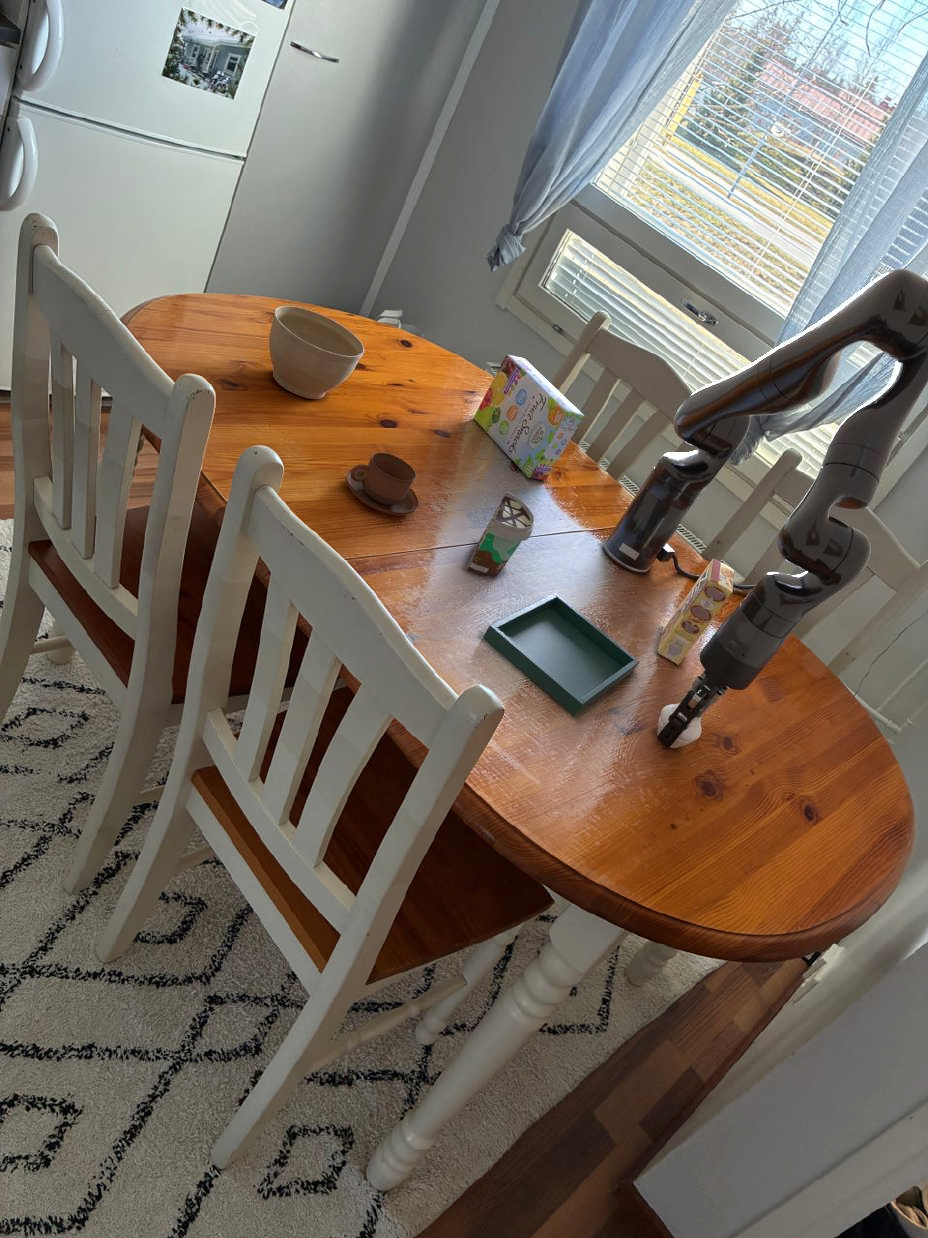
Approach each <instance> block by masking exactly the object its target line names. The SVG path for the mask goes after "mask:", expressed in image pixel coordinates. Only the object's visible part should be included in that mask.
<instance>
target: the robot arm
mask: <svg viewBox="0 0 928 1238" xmlns="http://www.w3.org/2000/svg"><path fill="white" fill-rule="evenodd" d="M858 342H859V343H860V342H864V343H865V342H866V343H868V344H870V345H872V346H873V347H875V348H876V349H878V350H879V351H881V352H883V353H884V354H885V355H888V356H889V357H890V358H891V359H893V360H895V365H894V369H893V372H892V375H891V377H890V379H889V381H888V383H887V385H885V387H884V388H883V389H882V390H881V391H880V392H878V394H876V395H875V396H874V397H872V398H871V399H870V400H868V401H867V402H866V403H864V404H863V405H861V406H860V407H858V408H857V409H856V410H855V411H853V412H852V413H851V414H849V416H847V417H846V418H845V419H844V420H843V421H842V422H841V424H840V425H839V426H838V427H837V429H836V431H835V432H834V434H833V435H832V438H831V440H830V442H829V444H828V447H827V450H826V452H825V455H824V458H823V460H822V463H821V466H820V468H819V471H818V473H817V475H816V478H815V480H814V481H813V483H812V484H811V486H810V488H809V489H808V490H807V492H806V494H805V495H804V496H803V498H802V499H801V501H800V502H799V504H798V505H797V506H796V507H795V508H794V510H793V511H792V512H791V514H790V515H789V516H788V518H787V519H786V520H785V521H784V523H783V524H782V526H781V527H780V530H779V531H778V536H777V548H778V552H779V555H780V557H781V558H782V559H783V560H785V561H786V562H788V563H789V564H792V565H793V566H795V567H797V568H800V569H801V570H803V571H805V572H802V573H800V574H790V573H784V572H779V571H769V572H766V573H765V574H764V575H763V576H761V577H760V578H759V579H758V581H757V582H756V583H755V584H751V585H750V584H749V585H742V584H737V583H733V589H737V590H741V591H742V590H744V591H745V590H747V591H749V590H750V591H749V592H748V594H747V595H746V596H745V597H744V599H743V600H742V601H741V603H740V604H739V605H738V606H737V607H736V608H735V609H734V610H733V611H732V612H731V613H730V614H729V615H728V616H727V617H726V618H725V620H724V621H723V622H722V624H721V625H720V626H719V628H718V629H717V630H716V631H715V633H714V634H713V635H712V637H711V638H710V639H709V641H708V642H707V643H706V644H705V645H704V647H703V648H702V650H701V651H700V652H699V662H700V664H701V667H702V668H703V669H704V670H703V671H702V673H700V674H699V675H698V676H697V677H696V678H695V679H693V681H692V682H691V686H690V688H689V689H688V690H687V692H686V693H685V694H684V695H683V696H682V697H681V699H680V700H679V703H680V704H679V703H678V704H679V706H678V707H677V708H676V710H675V711H674V712H673V713H672V714H671V715H670V716H669V719H668V720H669V722H668V723H667V725H666V726H665V727H664V728H663V730H662V731H661V732H660V733H659V735H657V736H656V737H657V740H658V741H659V742H660V743H662V745H664V746H665V747H667V748H670V746H671V745H672V744H673V743H674V742H675V741H676V740H677V738H678V737H679V736H680V735H681V733H682V732H683V731H684V730H686V729H688V728H689V725H690V724H691V722H692V721H693V720H694V719H695V718H700V717H702V718H703V715H704V714H705V713H706V712H707V711H708V710H709V709H710V707H713V706H714V705H715V704H716V703H717V702H718V701H719V700H720V699H721V698H722V697H723V696H724V695H725V694H726V693H727V692H728V690H729V689H731V690H735V691H744V690H746V689H748V688H749V686H750V685H751V684H752V683H753V682H754V681H755V679H756V678H757V677H758V676H759V675H760V673H761V672H762V671H763V670H764V669H765V668H766V666H767V665H768V664H769V662H771V660H772V659H773V658H774V657H775V656H776V655H777V653H778V651H779V650H780V648H781V647H782V645H783V644H784V642H785V641H786V639H787V638H788V637H789V636H790V634H791V633H792V632H794V630H795V629H796V627H797V626H798V625H799V624H800V622H801V621H802V620H803V619H804V617H805V616H806V615H808V613H810V612H811V611H812V610H814V609H815V608H817V607H818V606H820V605H822V604H823V603H824V602H826V601H827V600H828V599H829V598H831V597H832V596H834V595H835V594H837V593H838V592H840V591H841V590H843V589H844V588H846V587H848V585H850V584H851V583H852V582H854V581H855V580H856V579H857V578H858V577H859V576H860V575H861V574H862V573H863V571H864V570H865V568H866V566H867V564H868V563H869V561H870V557H871V553H872V545H871V541H870V538H869V537H868V536H867V535H866V534H865V533H864V532H862V531H861V530H859V529H858V528H855V527H854V526H852V525H849V524H848V523H845V522H843V521H842V520H840V519H838V518H836V517H835V516H832V515H830V511H831V508H832V507H834V508H838V509H841V510H849V511H859V510H863V509H865V508H867V507H869V506H870V505H871V503H872V502H873V501H874V499H875V497H876V494H877V493H878V489H879V487H880V484H881V481H882V478H883V476H884V473H885V470H886V467H887V465H888V462H889V459H890V457H891V455H892V451H893V449H894V446H895V444H896V442H897V439H898V437H899V435H900V433H901V431H902V429H903V427H904V425H905V423H906V421H907V420H908V418H909V416H910V414H911V413H912V411H913V409H914V407H915V406H916V404H917V402H918V401H919V399H920V398H921V396H922V394H923V393H924V390H925V389H926V387H927V385H928V280H926V279H925V278H923V277H922V276H921V275H919V274H918V273H915V272H914V271H911V270H909V269H906V268H895V269H893V270H890V271H888V272H885V273H884V274H882V275H881V276H878V277H877V278H875V279H874V280H873V281H871V282H870V283H868V284H867V285H866V286H865V287H863V288H862V289H861V290H859V291H858V292H857V293H855V294H854V295H853V296H852V297H850V298H849V299H848V300H846V301H845V302H844V303H842V304H841V305H840V306H839V307H837V308H836V309H834V310H833V311H832V312H830V313H829V314H828V315H826V316H825V317H823V318H822V319H821V320H819V321H818V322H817V323H815V324H813V325H811V326H810V327H808V328H807V329H806V330H804V331H803V332H801V333H799V334H797V335H796V336H794V337H792V338H790V339H789V340H786V341H785V342H783V343H781V344H780V345H779V346H777V347H775V348H774V349H772V350H770V351H769V352H767V353H766V354H764V355H763V356H761V357H759V358H757V360H755V361H754V362H752V363H750V364H749V365H747V366H745V367H743V368H741V369H740V370H738V371H736V372H734V373H732V374H730V375H729V376H726V377H724V378H722V379H720V380H717V381H715V382H712V383H710V384H707V385H705V386H703V387H701V388H700V389H698V390H696V391H695V392H693V393H692V394H690V395H689V396H688V397H687V398H686V399H685V400H684V401H683V403H682V404H681V405H680V406H679V408H678V409H677V411H676V413H675V416H674V419H673V430H674V433H675V434H676V436H677V438H679V439H680V440H681V441H683V443H686V444H687V445H690V446H692V447H694V448H696V450H693V451H688V452H666V453H664V454H662V455H661V456H660V457H659V459H658V460H657V462H656V463H655V465H654V466H653V468H652V469H651V471H650V472H649V474H648V475H647V478H645V480H644V482H643V483H642V485H641V486H640V488H639V490H638V491H637V492H636V494H635V496H634V497H633V498H632V499H631V502H630V504H629V505H628V506H627V508H626V509H625V511H624V513H623V514H622V516H621V517H620V518H619V520H618V522H617V523H616V525H615V526H614V527H613V529H612V531H611V532H610V534H609V535H608V537H607V538H606V539H605V541H604V542H603V545H602V546H603V547H602V548H603V549H604V552H605V553H606V555H607V556H608V557H609V558H610V559H611V560H612V561H613V562H615V563H616V564H617V565H619V566H620V567H622V568H624V569H625V570H627V571H630V572H631V573H636V574H645V573H648V571H649V570H650V568H651V567H652V565H653V564H654V562H656V560H658V562H660V563H666V562H669V561H670V560H671V559H672V560H673V567H674V570H676V571H677V572H678V574H680V575H682V576H685V577H687V578H691V579H694V580H698V579H699V578H700V576H701V575H698V574H692V573H689V572H686V571H684V570H683V569H682V568H681V567H680V566H679V560H678V557H677V555H676V554H675V553H676V550H674V549H673V548H672V547H671V546H670V545H669V544H668V543H669V541H670V540H671V539H672V537H673V536H674V534H675V533H676V531H677V529H678V527H679V526H680V524H681V523H682V522H683V520H684V519H685V517H686V516H687V514H688V513H689V511H690V510H691V508H692V507H693V505H694V504H695V503H696V501H697V500H698V498H699V497H700V495H702V492H704V490H705V489H706V488H707V487H708V486H709V485H710V484H712V483H713V481H714V480H715V479H716V478H717V476H718V474H719V473H720V472H721V470H723V468H724V466H725V465H726V464H727V463H728V462H729V460H730V459H731V458H732V457H733V455H734V454H735V453H736V451H737V450H738V448H739V447H740V446H741V444H742V443H743V441H744V440H745V438H746V436H747V433H748V432H749V430H750V426H751V422H752V421H751V420H752V418H751V417H752V416H774V415H782V414H785V413H788V412H792V411H795V410H797V409H799V408H801V407H803V406H805V405H806V404H809V403H810V402H812V401H814V400H816V399H818V398H820V397H821V396H822V395H823V394H825V393H826V392H827V391H828V389H829V388H830V387H831V385H832V383H833V381H834V379H835V376H836V375H837V371H838V368H839V364H840V360H841V356H842V353H843V351H844V350H845V349H847V348H848V347H850V346H851V345H853V344H855V343H858ZM700 710H701V711H700ZM679 713H682V714H683V715H684V716H685V717H686V718H687V720H685V719H684V718H683V717H682V716H680V715H679Z"/></svg>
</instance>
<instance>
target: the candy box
mask: <svg viewBox="0 0 928 1238" xmlns="http://www.w3.org/2000/svg"><path fill="white" fill-rule="evenodd" d="M699 576H700V578H699V579H696V580H697V581H696V582H695V583H694V585H693V586H692V587H691V588H690V590H689V591H688V593H687V594H686V596H685V597H684V598H683V600H682V602H681V603H680V604H679V606H678V607H677V609H676V610H675V611H674V613H673V615H672V616H671V617H670V619H669V620H668V621H667V623H666V625H665V626H664V627H663V629H662V631H661V636H660V640H659V644H658V649H657V654H658V655H660V656H662V657H663V658H665V659H666V660H669V661H671V662H672V663H674V664H676V665H677V666H678V665H680V664H681V663H682V661H683V660H684V659H685V657H686V656H687V654H689V652H690V650H692V648H693V646H694V645H695V644H696V642H697V641H698V640H699V638H700V637H701V636H702V635H703V633H704V631H706V629H707V628H708V627H709V625H710V624H711V622H712V621H713V620H714V618H715V617H716V616H717V614H718V613H719V611H720V610H721V609H722V608H723V606H724V605H725V603H726V602H727V601H728V600H729V598H730V597H731V596H732V594H733V592H734V588H733V584H735V570H734V569H733V568H731V567H730V566H728V565H727V564H725V563H723V562H721V561H720V560H718V559H716V558H712V559H711V561H710V562H709V564H708V565H707V566H706V568H705V569H704V571H703V572H702V574H701V575H699Z"/></svg>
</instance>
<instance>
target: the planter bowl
mask: <svg viewBox="0 0 928 1238" xmlns="http://www.w3.org/2000/svg"><path fill="white" fill-rule="evenodd" d="M272 316H273V318H272V323H271V327H270V331H269V337H268V338H269V340H268V343H269V344H268V345H269V346H268V347H269V355H270V361H271V364H272V367H273V370H272V377H273V379H274V380H275V382H276V383H277V384H278V385H279V386H281V387H282V388H283V389H285V390H287V391H288V392H289V393H292V394H294V395H296V396H299V397H301V398H305V399H308V400H309V399H311V400H320V399H323V398H324V397H325V395H326V393H327V392H329V391H332V390H334V389H335V388H337V387H339V386H340V385H341V384H342V383H343V382H344V381H346V380H347V379H348V378H349V377H350V376H351V374H352V373H353V371H354V370H355V368H356V367H357V365H358V364H359V363H358V362H359V360H361V358H362V357H363V356H364V353H365V347H364V344H363V343H362V341H361V340H360V339H359V338H358V336H356V334H354V333H353V332H352V331H350V330H349V328H347V327H345V326H344V325H343V324H341V323H340V322H337V321H335V320H334V319H332V318H330V317H328V316H326V315H323V314H321V313H319V312H316V311H313V310H311V309H308V308H305V307H301V306H295V305H280V306H278V307H276V309H275V310H274V312H273V315H272Z"/></svg>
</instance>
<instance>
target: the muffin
mask: <svg viewBox="0 0 928 1238" xmlns="http://www.w3.org/2000/svg"><path fill="white" fill-rule="evenodd" d="M679 704H680V702H679V703H670V704H667V705H665V706H664V707H663V708H662V709H661V710H660V715H659V717H658V724H657V732H656V733H657V736H658V735H659V733H660V732H661V731H662V730H663V728H664V727H665V726H666V725H667V723H668V722H669V720H668V719H669V716H670V715H671V714H672V713H673V712H674V711H675V710H676V708H677V707H678V706H679ZM700 711H701V710H700ZM679 715H680V716H682V717H683V718H684V719H685V720H687V718H686V717H685V716H684V715H683V714H682V713H679ZM702 718H703V716H702V717H700V718H695V719H694V720H693V721H692V722H691V724H690V725H689V728H688V729H686V730H684V731H683V732H682V733H681V735H680V736H679V737H678V738H677V740H676V741H675V742H674V743H673V744H672V745H671V746H670V747H669V748H671V749H676V748H679V747H683V746H686V745H688V744H691V743H693V742H694V741H697V740H698V739H699V738H700V737H701V735H702V729H703V728H702V724H701V723H702V721H701V720H702Z"/></svg>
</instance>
